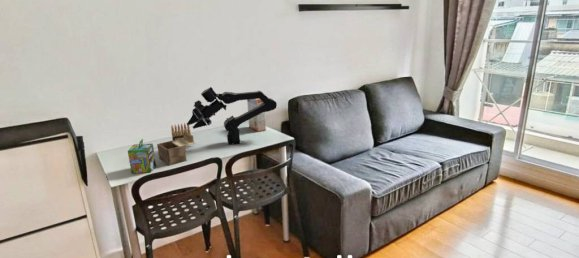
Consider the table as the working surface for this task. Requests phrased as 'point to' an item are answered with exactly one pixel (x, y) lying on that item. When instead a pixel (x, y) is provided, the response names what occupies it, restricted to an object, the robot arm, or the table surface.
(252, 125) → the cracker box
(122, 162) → the table surface
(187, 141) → the lid
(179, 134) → the ammunition clip
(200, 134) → the table surface
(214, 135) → the table surface
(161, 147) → the walnut box
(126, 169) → the table surface
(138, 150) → the chalk box
